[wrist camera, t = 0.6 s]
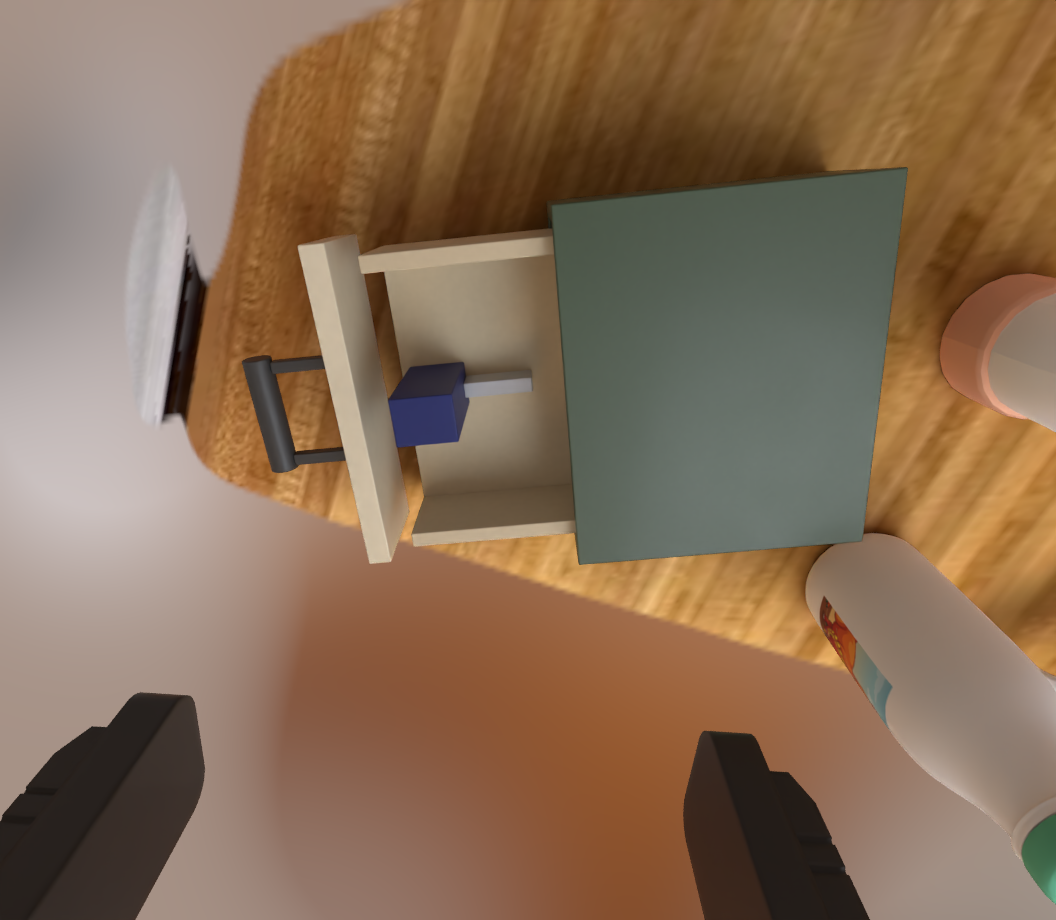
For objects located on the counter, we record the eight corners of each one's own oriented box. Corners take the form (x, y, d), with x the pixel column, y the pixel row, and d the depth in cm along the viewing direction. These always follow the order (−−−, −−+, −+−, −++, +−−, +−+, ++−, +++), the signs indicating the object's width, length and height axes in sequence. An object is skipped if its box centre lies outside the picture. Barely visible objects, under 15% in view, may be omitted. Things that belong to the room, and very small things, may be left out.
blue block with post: (409, 366, 35) (387, 399, 30) (529, 354, 35) (529, 386, 29) (417, 408, 36) (396, 448, 30) (534, 397, 36) (534, 435, 30)
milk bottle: (810, 530, 41) (1039, 813, 23) (931, 527, 41) (1258, 807, 23) (793, 627, 44) (984, 945, 26) (906, 624, 44) (1176, 940, 26)
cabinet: (570, 500, 40) (578, 565, 33) (546, 201, 34) (550, 204, 27) (804, 479, 40) (862, 542, 33) (828, 171, 33) (909, 166, 26)
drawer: (316, 519, 40) (283, 571, 35) (245, 245, 34) (192, 256, 28) (607, 494, 39) (620, 543, 34) (592, 209, 33) (604, 213, 28)
